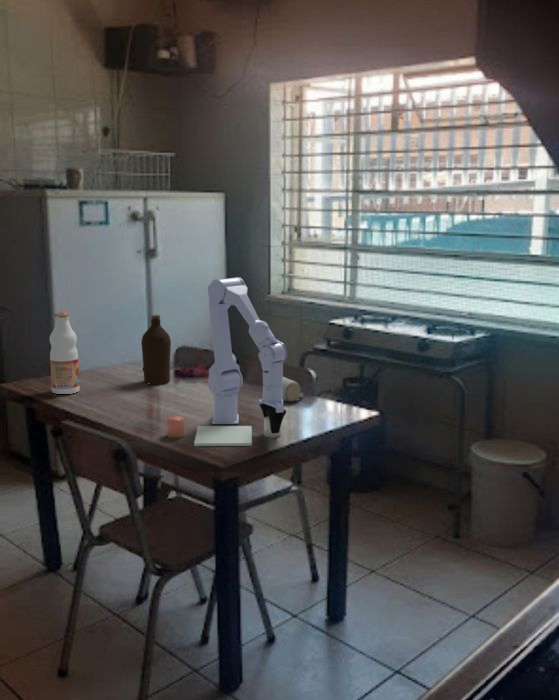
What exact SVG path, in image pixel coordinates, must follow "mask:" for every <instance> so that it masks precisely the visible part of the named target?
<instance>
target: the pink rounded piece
mask: <svg viewBox="0 0 559 700" xmlns="http://www.w3.org/2000/svg"><path fill="white" fill-rule="evenodd" d="M166 436H167V437H168V438H171V439H177V438H179V439H180V438H183V437H185V417H183V416H180V415H178V416H177V415H175V416H168V417H167V418H166ZM182 436H183V437H182Z"/></svg>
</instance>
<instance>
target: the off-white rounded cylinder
mask: <svg viewBox="0 0 559 700" xmlns="http://www.w3.org/2000/svg"><path fill="white" fill-rule="evenodd" d="M263 436H264V437H267V438H271V439H272V438H278V437H281V436H282V426H281V427H280V431H279V433H271V428H270V421H269V417H268V416H267V417H264V416H263Z"/></svg>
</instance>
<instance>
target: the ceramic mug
mask: <svg viewBox="0 0 559 700" xmlns="http://www.w3.org/2000/svg"><path fill="white" fill-rule="evenodd" d="M303 397H304V393H303V392H301V386H300V384H299V383H298V382H297V381H295V380H292V379H289V378H287V377H285V376H283V402H284V401H285V402H288V403H293V402H295V401H297V400H298V399H299V398H301V399H302V398H303Z"/></svg>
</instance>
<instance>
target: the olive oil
mask: <svg viewBox="0 0 559 700" xmlns="http://www.w3.org/2000/svg"><path fill="white" fill-rule="evenodd" d="M150 324H151V325H150V326H149V328H148V329H147V330H146V331H144V333H143V335H142V338H141V353H142V364H143V365H142V371H143V381H144V383H145V382H146V383H150V384H149V385H151V384H161V385H165V384H164V383H166V384H169V383H170V382H171V349H172V346H171V345H172V340H171V337H170V335H169V333H168V332H167V331H166V330H165V328H163V326H161V315H159V314H152V315H151V316H150ZM168 382H169V383H168ZM146 383H145V384H146Z"/></svg>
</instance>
